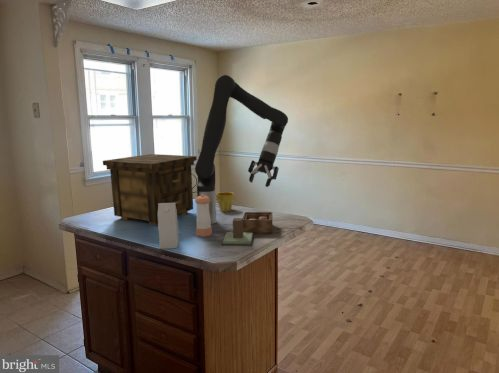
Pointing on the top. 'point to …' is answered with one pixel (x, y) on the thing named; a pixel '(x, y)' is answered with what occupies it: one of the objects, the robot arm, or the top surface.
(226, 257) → the top surface
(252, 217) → the crate
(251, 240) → the mat
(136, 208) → the crate
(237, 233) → the lid
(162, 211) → the milk carton
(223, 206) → the plant pot
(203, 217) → the pepper shaker
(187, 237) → the top surface
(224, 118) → the robot arm
